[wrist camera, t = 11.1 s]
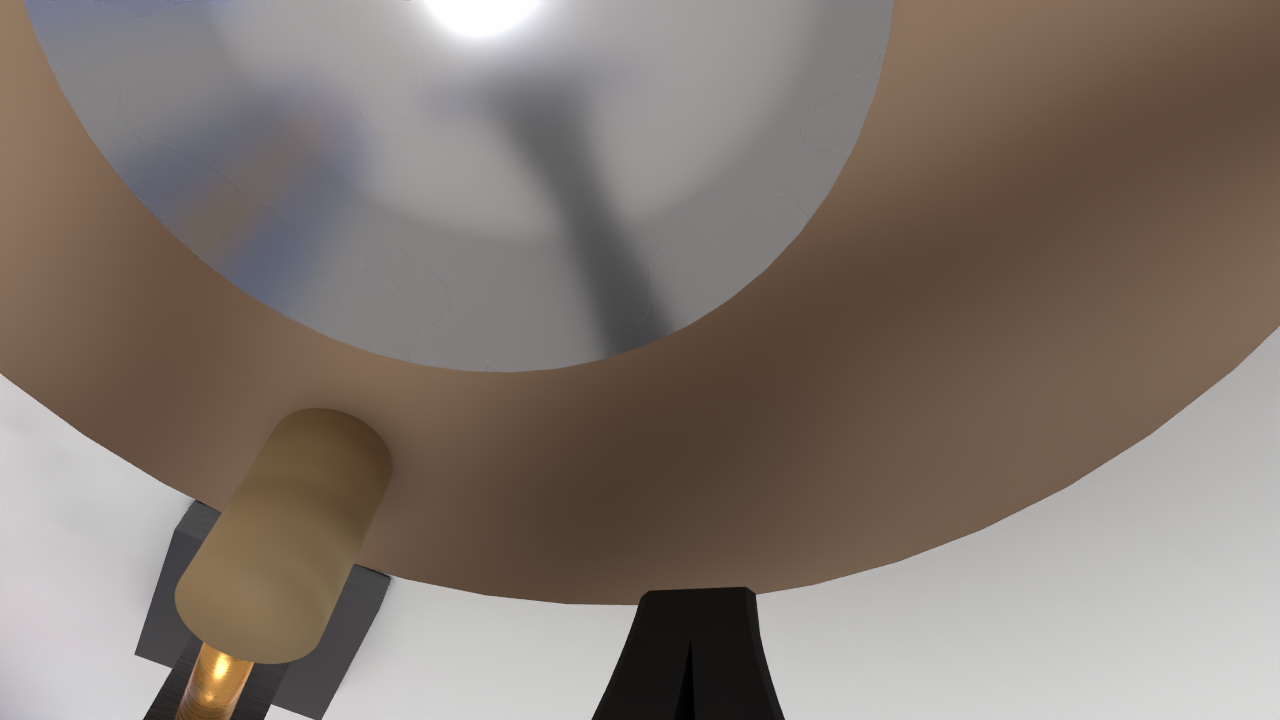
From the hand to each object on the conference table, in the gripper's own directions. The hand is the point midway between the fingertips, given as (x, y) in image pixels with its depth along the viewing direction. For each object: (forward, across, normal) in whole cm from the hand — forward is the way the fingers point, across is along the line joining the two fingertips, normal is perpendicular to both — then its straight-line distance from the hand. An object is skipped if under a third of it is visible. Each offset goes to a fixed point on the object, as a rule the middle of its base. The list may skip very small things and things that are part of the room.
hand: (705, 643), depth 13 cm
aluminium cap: (+2, +1, -8) cm, 9 cm away
